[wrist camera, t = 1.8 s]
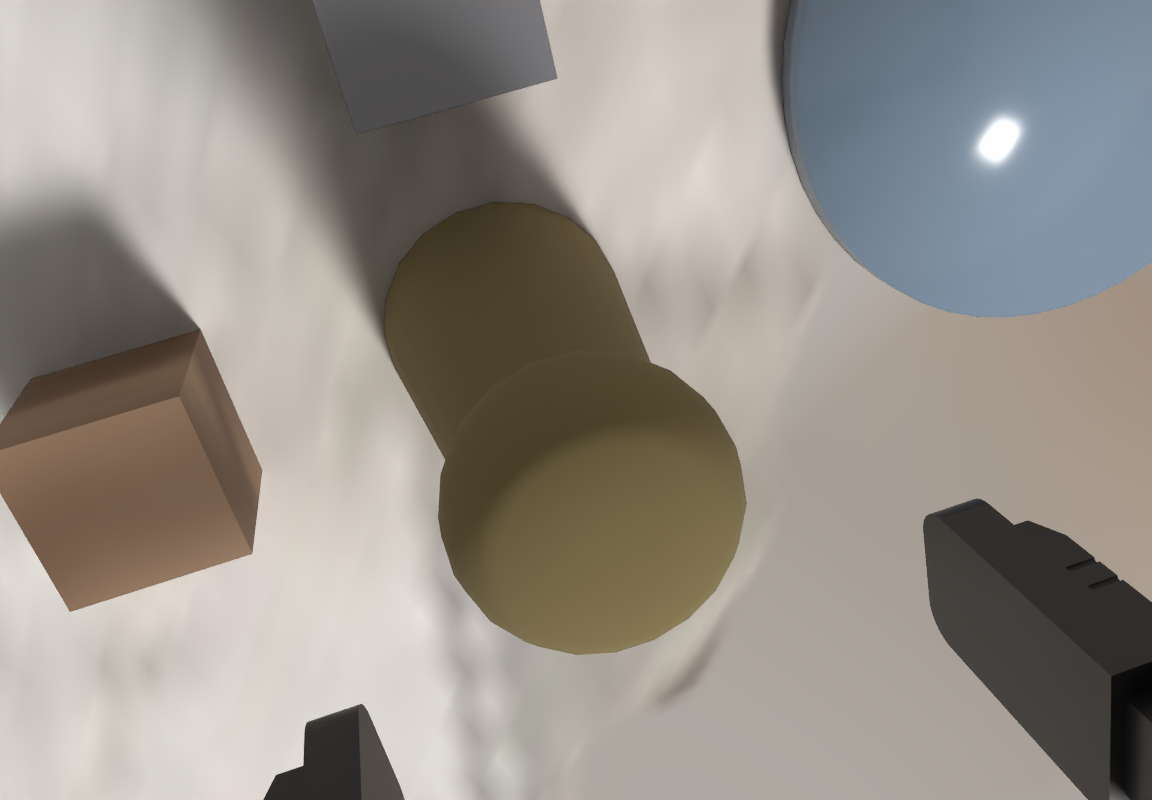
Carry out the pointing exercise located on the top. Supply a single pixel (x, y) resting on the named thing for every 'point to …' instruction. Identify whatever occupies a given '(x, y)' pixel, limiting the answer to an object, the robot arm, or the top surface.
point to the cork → (559, 435)
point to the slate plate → (977, 144)
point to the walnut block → (130, 470)
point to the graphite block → (431, 54)
